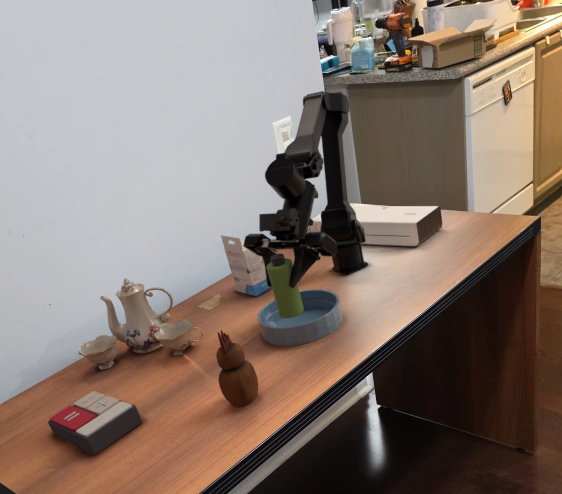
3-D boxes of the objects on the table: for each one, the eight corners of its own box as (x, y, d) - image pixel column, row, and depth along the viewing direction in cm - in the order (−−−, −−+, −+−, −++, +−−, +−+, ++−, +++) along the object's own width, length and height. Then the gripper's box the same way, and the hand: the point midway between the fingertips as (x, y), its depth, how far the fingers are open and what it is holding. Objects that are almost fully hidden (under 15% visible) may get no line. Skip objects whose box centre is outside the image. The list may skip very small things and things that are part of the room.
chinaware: (82, 387, 140) (48, 323, 130) (96, 345, 153) (66, 284, 144) (207, 359, 137) (182, 291, 127) (210, 319, 151) (187, 254, 141)
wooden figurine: (247, 414, 112) (222, 338, 104) (221, 410, 115) (195, 336, 108) (268, 392, 116) (245, 318, 109) (242, 389, 120) (219, 316, 112)
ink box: (271, 288, 158) (256, 230, 150) (256, 297, 156) (239, 238, 148) (251, 283, 164) (235, 227, 157) (235, 291, 162) (218, 235, 155)
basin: (315, 301, 145) (311, 282, 143) (360, 321, 131) (356, 301, 129) (249, 332, 140) (243, 313, 138) (288, 357, 126) (282, 336, 124)
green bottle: (295, 304, 133) (281, 249, 127) (308, 310, 129) (294, 253, 123) (275, 314, 131) (259, 258, 125) (287, 320, 127) (272, 263, 121)
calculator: (93, 388, 127) (134, 401, 116) (102, 406, 129) (143, 421, 118) (44, 418, 121) (83, 435, 110) (54, 437, 123) (93, 455, 112)
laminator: (443, 229, 163) (440, 205, 160) (418, 249, 156) (414, 224, 153) (336, 226, 186) (331, 205, 182) (310, 244, 179) (305, 222, 175)
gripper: (235, 194, 126) (217, 271, 125) (316, 189, 115) (298, 273, 114) (267, 218, 135) (251, 290, 134) (345, 215, 124) (329, 293, 123)
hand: (280, 286), depth 126 cm, fingers closed on green bottle, 5 cm apart
